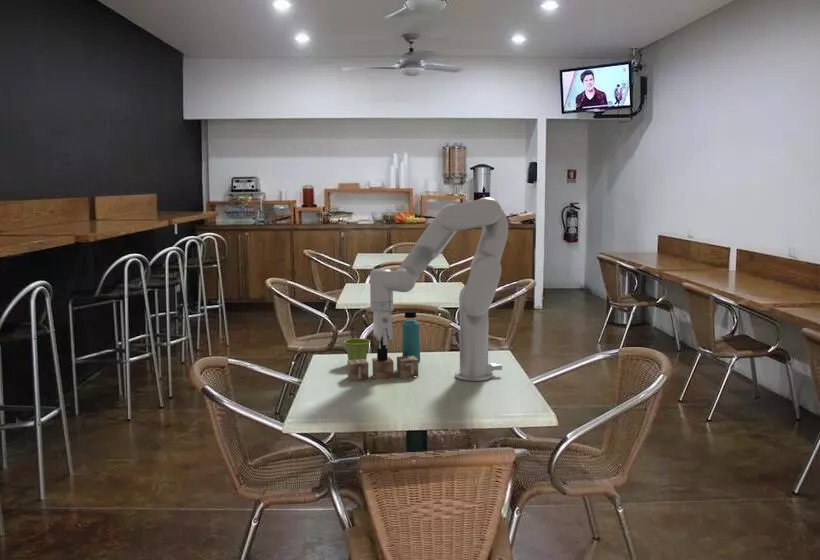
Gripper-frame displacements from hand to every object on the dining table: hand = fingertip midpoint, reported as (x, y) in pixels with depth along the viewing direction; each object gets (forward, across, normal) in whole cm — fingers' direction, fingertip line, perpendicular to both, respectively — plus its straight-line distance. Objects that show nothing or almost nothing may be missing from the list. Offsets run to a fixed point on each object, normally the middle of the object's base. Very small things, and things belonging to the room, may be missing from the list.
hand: (382, 359), depth 240 cm
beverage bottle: (+6, +11, -13) cm, 18 cm away
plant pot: (+6, +19, +5) cm, 21 cm away
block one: (+6, 0, +8) cm, 10 cm away
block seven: (+6, 0, -9) cm, 11 cm away
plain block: (+6, 0, 0) cm, 6 cm away
